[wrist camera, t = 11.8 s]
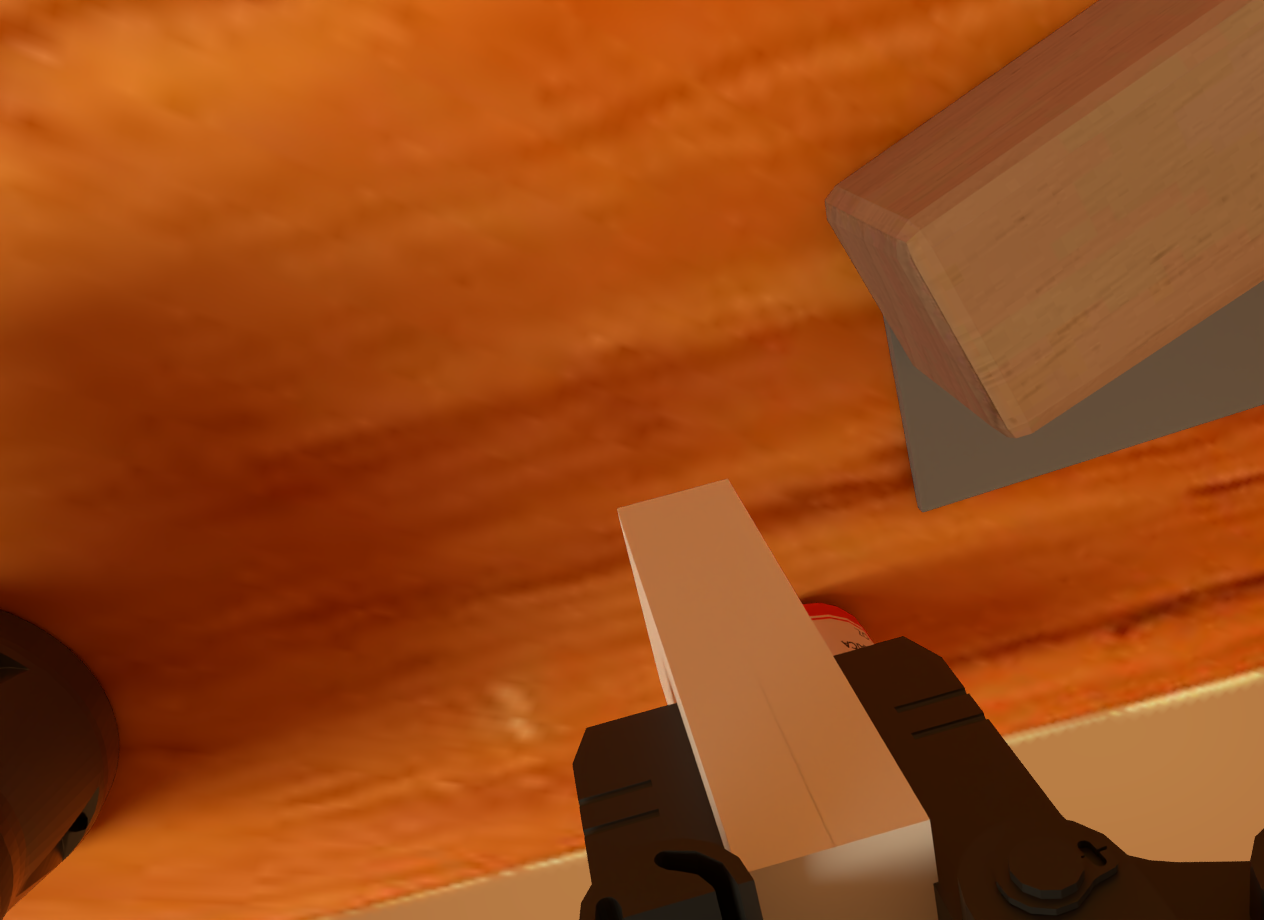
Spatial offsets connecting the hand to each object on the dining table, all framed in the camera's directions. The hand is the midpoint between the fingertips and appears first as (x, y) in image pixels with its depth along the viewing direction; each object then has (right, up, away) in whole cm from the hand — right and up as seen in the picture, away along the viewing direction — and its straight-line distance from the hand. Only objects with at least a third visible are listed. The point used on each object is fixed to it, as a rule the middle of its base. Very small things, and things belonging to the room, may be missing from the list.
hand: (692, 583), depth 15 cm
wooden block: (+10, +7, +29) cm, 32 cm away
